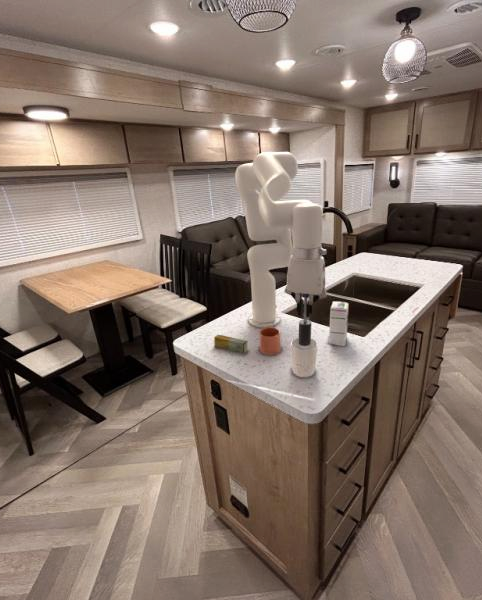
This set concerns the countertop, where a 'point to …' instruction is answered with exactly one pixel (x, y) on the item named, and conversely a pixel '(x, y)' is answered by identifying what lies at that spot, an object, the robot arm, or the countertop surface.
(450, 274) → the countertop surface
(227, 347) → the medication box
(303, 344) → the bottle brush
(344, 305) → the syrup box
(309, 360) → the white cup
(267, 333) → the cup
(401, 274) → the countertop surface
